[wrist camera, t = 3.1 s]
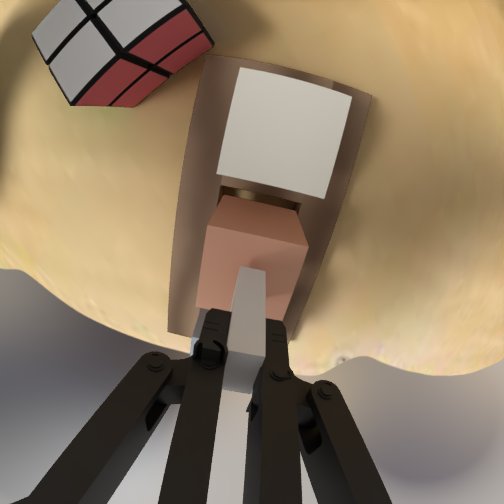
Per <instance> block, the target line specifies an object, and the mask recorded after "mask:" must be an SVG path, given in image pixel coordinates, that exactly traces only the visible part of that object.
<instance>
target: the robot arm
mask: <svg viewBox="0 0 504 504" xmlns="http://www.w3.org/2000/svg"><path fill="white" fill-rule="evenodd" d="M222 389H224V390H229V391H235V392H241V393H248V394H250V393H251V391H252V398H251V401H250V403H249V405H248V407H247V410H246V412H249V418H248V434H247V449H246V464H245V480H244V493H243V504H302V486H301V464H300V452H301V455H302V458H303V461H304V464H305V467H306V470H307V473H308V476H309V479H310V481H311V485H312V487H313V490H314V493H315V496H316V499H317V502H318V504H392V502H391V500H390V497H389V495H388V493H387V491H386V488H385V486H384V484H383V482H382V480H381V477H380V475H379V473H378V471H377V469H376V466H375V464H374V462H373V460H372V458H371V456H370V453H369V452H368V449H367V448H366V445H365V443H364V441H363V438H362V436H361V434H360V432H359V430H358V428H357V426H356V424H355V422H354V419H353V417H352V415H351V413H350V411H349V409H348V407H347V405H346V403H345V401H344V399H343V396H342V394H341V392H340V390H339V389H338V387H337V386H336V385H335V384H333V383H332V382H329V381H327V380H320V381H316V382H315V383H314V384H310V383H308V382H305V381H303V380H301V379H299V378H297V377H296V376H295V375H294V373H293V371H292V370H291V369H290V367H289V356H288V344H287V332H286V327H285V326H284V324H283V322H282V321H280V320H274V319H269V318H266V271H263V270H258V269H253V268H248V267H244V266H240V268H239V272H238V277H237V281H236V286H235V290H234V294H233V299H232V303H231V309H230V311H225V310H220V309H216V308H211V309H210V310H209V311H208V312H207V313H206V316H205V319H204V323H203V326H202V330H201V334H200V337H199V340H197V341H196V343H195V344H194V348H193V355H192V356H190V357H189V358H186V359H180V360H170V358H169V357H168V356H167V355H165V354H164V353H160V352H149V353H146V354H144V355H143V356H142V357H141V358H140V359H139V360H138V362H137V363H136V364H135V365H134V366H133V367H132V369H131V370H130V371H129V372H128V373H127V375H126V376H125V377H124V378H123V379H122V381H121V382H120V383H119V384H118V386H117V387H116V388H115V389H114V391H112V393H111V394H110V395H109V396H108V397H107V399H106V400H105V401H104V402H103V404H102V405H101V406H100V407H99V409H98V410H97V411H96V412H95V413H94V415H93V416H92V417H91V418H90V420H89V421H88V422H87V423H86V424H85V426H84V427H83V428H82V429H81V431H80V432H79V433H78V434H77V435H76V437H75V438H74V439H73V440H72V442H71V443H70V444H69V446H68V447H67V448H66V449H65V451H64V452H63V453H62V454H61V456H60V457H59V458H58V459H57V461H56V462H55V463H54V464H53V466H52V467H51V468H50V469H49V471H48V472H47V474H46V475H45V476H44V477H43V478H42V480H41V481H40V482H39V484H38V485H37V487H36V488H35V489H34V490H33V491H32V493H31V494H30V495H29V496H28V497H26V498H24V499H21V500H19V501H16V502H14V503H12V504H107V502H108V501H109V499H110V498H111V496H112V495H113V494H114V492H115V490H116V489H117V487H118V486H119V484H120V483H121V481H122V480H123V478H124V476H125V475H126V474H127V472H128V471H129V469H130V467H131V466H132V464H133V463H134V461H135V460H136V458H137V457H138V455H139V454H140V452H141V450H142V449H143V447H144V446H145V444H146V443H147V441H148V440H149V438H150V436H151V435H152V433H153V432H154V430H155V429H156V427H157V425H158V424H159V422H160V421H161V419H162V418H163V416H164V414H165V413H166V411H167V410H168V408H169V406H170V405H171V404H181V405H180V409H179V413H178V417H177V421H176V425H175V429H174V433H173V438H172V442H171V446H170V451H169V455H168V459H167V464H166V468H165V473H164V477H163V482H162V486H161V491H160V496H159V501H158V504H206V502H207V494H208V486H209V479H210V471H211V463H212V456H213V448H214V441H215V434H216V426H217V420H218V413H219V405H220V398H221V391H222Z"/></svg>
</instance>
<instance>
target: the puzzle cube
mask: <svg viewBox="0 0 504 504" xmlns="http://www.w3.org/2000/svg"><path fill="white" fill-rule="evenodd" d="M32 39H33V40H34V42H35V44H36V46H37V48H38V50H39V52H40V54H41V56H42V58H43V60H44V61H45V63H46V65H49V70H50V72H51V74H52V76H53V77H54V79H55V81H56V83H57V84H58V86H59V88H60V89H61V91H62V93H63V94H64V96H65V98H66V99H67V101H68V103H69V104H70V106H111V107H132V108H134V107H135V106H136V105H137V104H138V103H139V102H140V101H142V100H143V99H144V98H145V97H146V96H147V95H149V94H150V93H151V92H152V91H153V90H154V89H156V88H157V87H158V86H159V85H161V84H162V83H163V82H164V81H166V80H167V79H168V78H169V74H175V73H176V72H177V71H179V70H180V69H181V68H183V67H184V66H186V65H187V64H188V63H190V62H191V61H193V60H194V59H196V58H197V57H198V56H200V55H201V54H203V53H204V52H206V51H208V50H209V49H211V48H212V47H213V46H214V41H213V40H212V38H211V37H210V35H209V33H208V32H207V30H206V29H205V27H204V26H203V24H202V23H201V21H200V20H199V18H198V17H197V15H196V14H195V12H194V11H193V9H192V8H191V6H190V5H189V3H188V2H187V1H186V0H61V1H60V2H59V3H58V4H57V5H56V6H55V7H54V8H53V9H52V10H51V11H50V12H49V14H48V15H47V16H46V17H45V18H44V19H43V20H42V22H41V23H40V24H39V25H38V26H37V28H36V29H35V30H34V31H33V33H32Z"/></svg>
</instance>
